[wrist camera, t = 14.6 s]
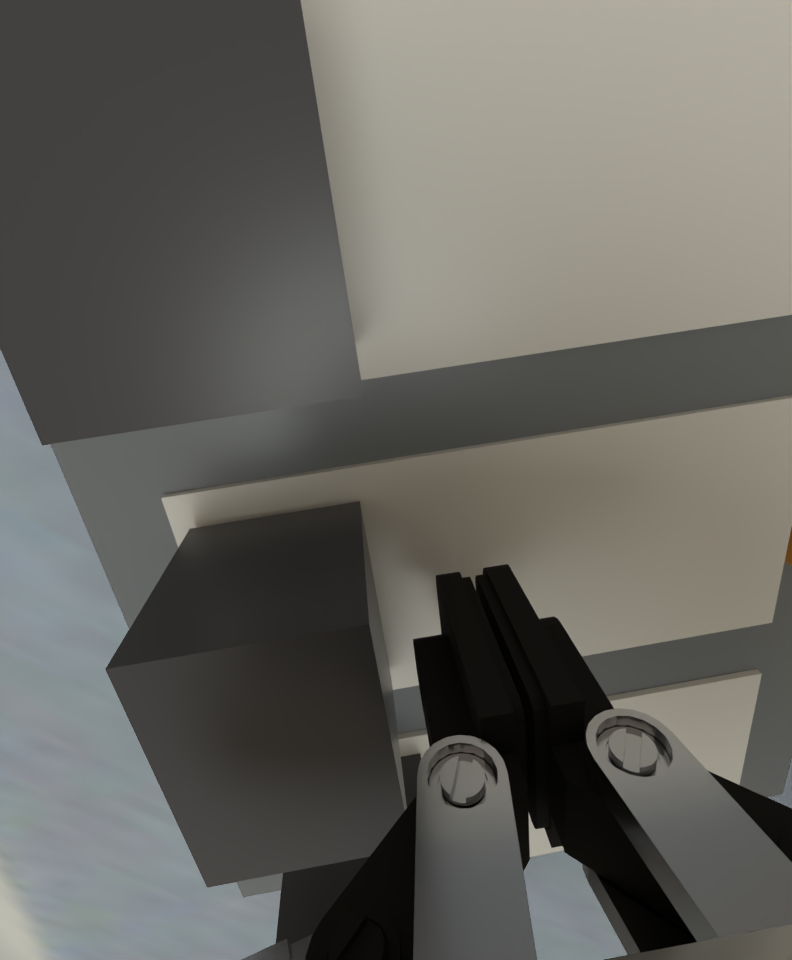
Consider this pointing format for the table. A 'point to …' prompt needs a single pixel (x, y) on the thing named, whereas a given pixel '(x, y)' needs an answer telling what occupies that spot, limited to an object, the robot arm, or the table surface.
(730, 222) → the breaker panel
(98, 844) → the table surface
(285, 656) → the block
